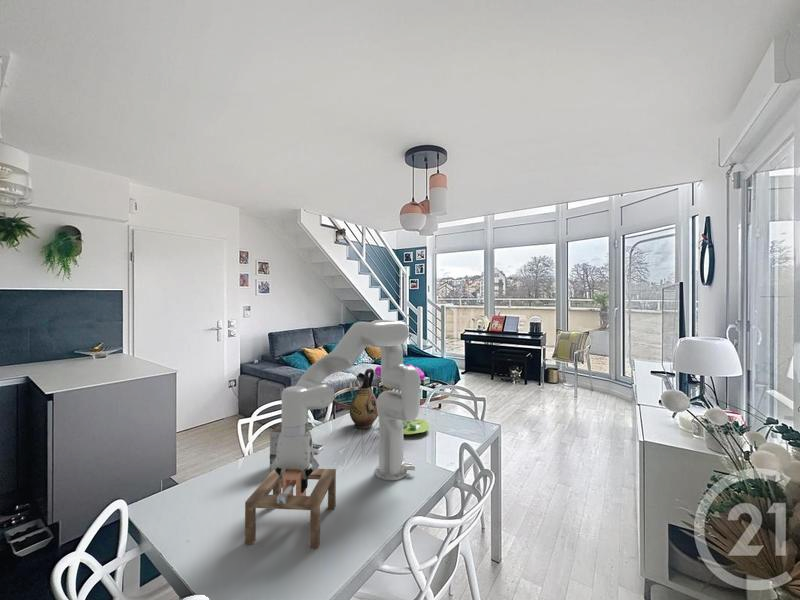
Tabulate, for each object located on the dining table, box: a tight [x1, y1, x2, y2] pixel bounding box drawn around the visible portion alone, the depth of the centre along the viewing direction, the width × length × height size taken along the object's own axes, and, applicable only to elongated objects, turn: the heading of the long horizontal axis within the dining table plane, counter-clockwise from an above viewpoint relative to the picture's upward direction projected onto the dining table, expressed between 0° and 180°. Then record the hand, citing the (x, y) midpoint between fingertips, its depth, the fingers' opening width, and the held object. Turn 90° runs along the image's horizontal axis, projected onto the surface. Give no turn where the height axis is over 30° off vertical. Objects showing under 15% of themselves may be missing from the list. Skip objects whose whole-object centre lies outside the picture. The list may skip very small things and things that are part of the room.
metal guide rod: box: [277, 467, 310, 504], centre depth 105 cm, size 2×20×2 cm, turn 176°
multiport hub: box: [313, 443, 325, 455], centre depth 157 cm, size 4×11×2 cm, turn 70°
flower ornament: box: [374, 363, 431, 435], centre depth 184 cm, size 30×28×35 cm
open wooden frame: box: [244, 468, 337, 550], centre depth 105 cm, size 20×20×12 cm
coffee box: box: [269, 423, 282, 473], centre depth 140 cm, size 9×6×16 cm
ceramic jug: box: [349, 368, 378, 430], centre depth 189 cm, size 17×15×30 cm
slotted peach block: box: [281, 469, 307, 496], centre depth 105 cm, size 5×6×9 cm
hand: (294, 489), depth 105 cm, fingers closed on slotted peach block, 4 cm apart
